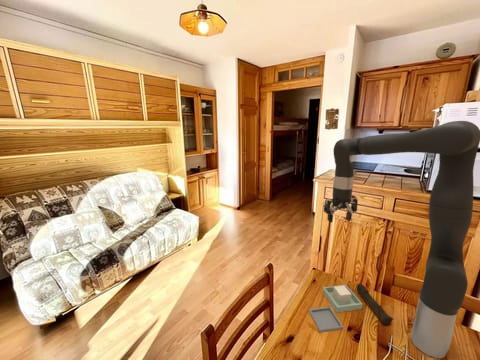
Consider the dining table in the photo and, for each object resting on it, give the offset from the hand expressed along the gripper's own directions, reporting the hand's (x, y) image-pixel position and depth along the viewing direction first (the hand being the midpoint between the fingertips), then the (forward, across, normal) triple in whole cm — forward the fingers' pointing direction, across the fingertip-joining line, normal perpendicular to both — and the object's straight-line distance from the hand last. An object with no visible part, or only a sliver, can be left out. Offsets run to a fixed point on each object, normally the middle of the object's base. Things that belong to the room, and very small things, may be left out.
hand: (339, 221), depth 94 cm
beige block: (+33, -2, -10) cm, 34 cm away
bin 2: (+33, -2, -10) cm, 35 cm away
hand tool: (+34, +8, -14) cm, 37 cm away
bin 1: (+33, -14, -18) cm, 40 cm away
